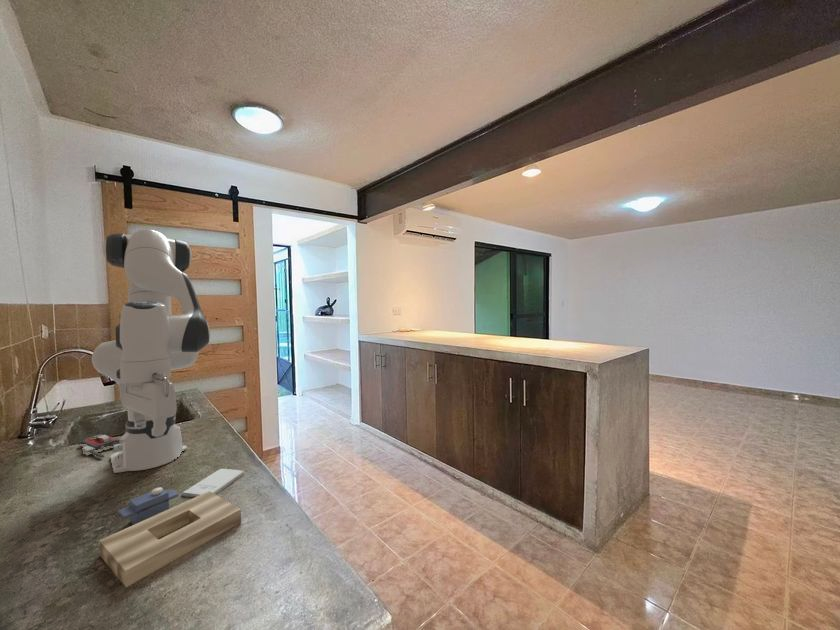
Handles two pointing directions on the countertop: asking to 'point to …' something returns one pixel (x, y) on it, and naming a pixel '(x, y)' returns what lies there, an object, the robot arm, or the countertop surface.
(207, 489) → the external hard drive
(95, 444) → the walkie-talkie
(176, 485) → the countertop surface
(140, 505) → the block
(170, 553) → the wooden board with hole
